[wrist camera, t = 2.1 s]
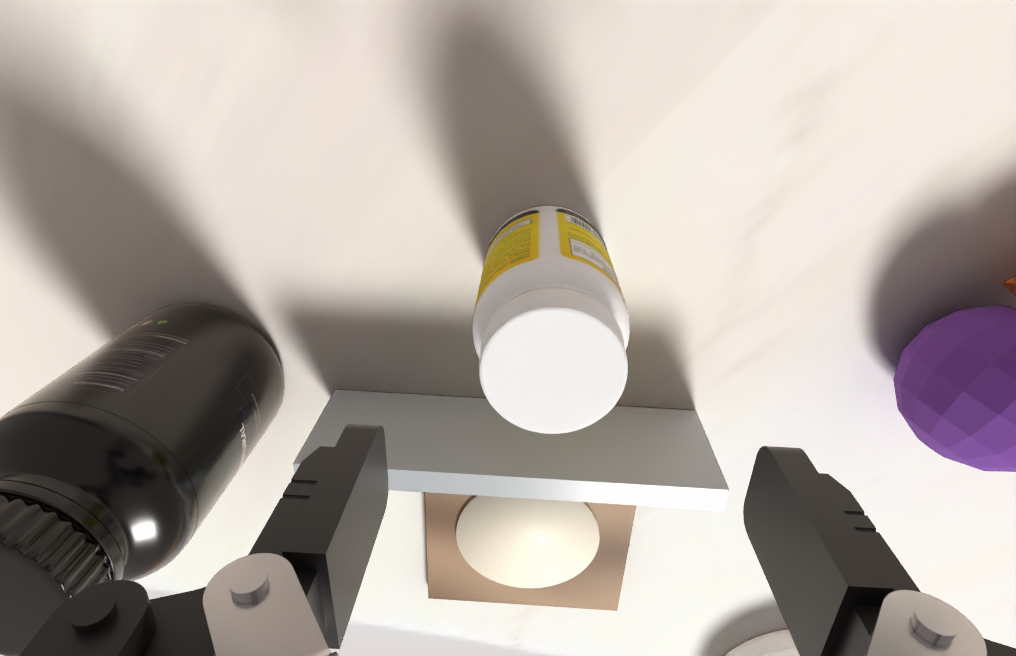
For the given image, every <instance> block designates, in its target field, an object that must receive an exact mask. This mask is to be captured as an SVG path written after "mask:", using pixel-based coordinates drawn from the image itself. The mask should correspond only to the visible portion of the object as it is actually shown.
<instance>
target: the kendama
mask: <svg viewBox="0 0 1016 656" xmlns="http://www.w3.org/2000/svg"><path fill="white" fill-rule="evenodd" d="M1003 285H1004V286H1006V287H1007V288H1008V289H1009V290H1010V291H1011V292H1012V293H1014V294H1015V295H1016V277H1013V278H1011V279H1009V280H1007V281H1004V284H1003ZM893 380H894V386H895V393H896V399H897V406H898V410H899V411H900V413H901V414H902V416H903V417H904V419H905V420H906V422H907V423H908V425H909V426H910V428H911V429H912V431H913V432H914V434H915V435H916V437H917V438H918V439H919V440H921V441H922V442H923V443H924V444H925V445H927V446H928V447H929V448H931V449H932V450H934V451H935V452H937V453H938V454H940V455H941V456H943V457H945V458H948V459H951V460H954V461H957V462H960V463H963V464H966V465H969V466H971V467H974V468H977V469H980V470H983V471H1010V472H1016V308H1014V307H1008V306H1003V305H995V306H987V307H978V308H970V309H961V310H958V311H956V312H954V313H952V314H950V315H947V316H945V317H943V318H941V319H939V320H937V321H935V322H933V323H930V324H928V325H926V326H925V327H924V328H923V329H922V330H921V331H920V332H919V333H918V334H917V336H916V337H915V338H914V339H913V340H912V341H911V342H910V343H909V344H908V345H907V346H906V347H905V348H904V349H903V351H902V354H901V357H900V360H899V363H898V366H897V369H896V372H895V375H894V378H893Z"/></svg>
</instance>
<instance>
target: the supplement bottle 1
mask: <svg viewBox="0 0 1016 656" xmlns="http://www.w3.org/2000/svg"><path fill="white" fill-rule="evenodd" d="M283 396H284V376H283V371H282V368H281V365H280V362H279V360H278V357H277V355H276V354H275V352H274V350H273V348H272V347H271V346H270V344H269V343H268V342H267V340H266V339H265V338H264V337H263V336H262V335H261V334H260V333H259V332H258V331H257V330H256V329H255V328H254V327H252V326H251V325H250V324H248V323H247V322H246V321H244V320H242V319H241V318H239V317H237V316H235V315H234V314H232V313H229V312H227V311H225V310H222V309H219V308H215V307H211V306H206V305H200V304H179V305H173V306H169V307H165V308H162V309H160V310H157V311H155V312H153V313H151V314H150V315H148V316H146V317H145V318H143V319H142V320H140V321H139V322H137V323H136V324H134V325H133V326H131V327H130V328H128V329H127V330H125V331H124V332H122V333H121V334H120V335H118V336H117V337H115V338H114V339H112V340H111V341H110V342H108V343H107V344H105V345H104V346H102V347H101V348H100V349H98V350H97V351H95V352H94V353H92V354H91V355H90V356H88V357H87V358H85V359H84V360H82V361H81V362H79V363H78V364H77V365H75V366H74V367H72V368H71V369H69V370H68V371H67V372H65V373H64V374H62V375H61V376H59V377H58V378H57V379H55V380H54V381H52V382H51V383H49V384H48V385H47V386H45V387H44V388H42V389H41V390H39V391H38V392H36V393H35V394H34V395H32V396H31V397H29V398H28V399H26V400H25V401H24V402H22V403H21V404H19V405H18V406H16V407H15V408H14V409H12V410H11V411H9V412H8V413H7V414H5V415H4V416H3V417H1V418H0V654H1V655H5V656H19V655H20V654H21V653H22V651H23V650H24V649H25V648H26V646H27V645H28V644H29V643H30V641H31V640H32V639H33V637H34V636H35V635H36V634H37V632H38V631H39V630H40V629H41V627H42V626H43V625H44V623H45V622H46V621H47V620H48V618H49V617H50V616H51V615H52V614H53V613H54V611H55V610H56V609H57V608H58V607H60V606H61V605H62V604H63V603H64V602H66V601H67V600H68V599H70V598H71V597H72V596H74V595H76V594H77V593H79V592H81V591H83V590H85V589H87V588H89V587H92V586H94V585H97V584H100V583H103V582H107V581H113V580H130V581H134V580H137V579H140V578H143V577H145V576H147V575H150V574H152V573H154V572H156V571H157V570H159V569H161V568H162V567H164V566H166V565H167V564H168V563H169V562H171V561H172V560H173V559H174V558H175V557H176V556H177V555H178V554H179V553H180V552H181V551H182V550H183V548H184V547H185V546H186V544H187V543H188V542H189V540H190V539H191V538H192V536H193V535H194V533H195V532H196V531H197V529H198V528H199V526H200V525H201V523H202V522H203V521H204V519H205V518H206V516H207V515H208V513H209V512H210V511H211V509H212V508H213V506H214V505H215V503H216V502H217V500H218V499H219V498H220V496H221V495H222V493H223V492H224V490H225V489H226V488H227V486H228V485H229V483H230V482H231V480H232V479H233V477H234V476H235V475H236V473H237V472H238V470H239V469H240V467H241V466H242V465H243V463H244V462H245V460H246V459H247V457H248V456H249V454H250V453H251V452H252V450H253V449H254V447H255V446H256V444H257V443H258V441H259V440H260V439H261V437H262V436H263V434H264V433H265V431H266V430H267V429H268V427H269V425H270V424H271V422H272V421H273V419H274V418H275V416H276V414H277V413H278V411H279V409H280V406H281V404H282V400H283Z"/></svg>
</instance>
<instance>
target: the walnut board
mask: <svg viewBox="0 0 1016 656" xmlns="http://www.w3.org/2000/svg"><path fill="white" fill-rule="evenodd" d="M425 508H426V538H427V567H428V597H429V598H433V599H448V600H463V601H478V602H494V603H509V604H524V605H539V606H554V607H569V608H584V609H600V610H615V611H617V608H618V602H619V597H620V591H621V586H622V580H623V575H624V569H625V564H626V559H627V553H628V548H629V542H630V537H631V531H632V526H633V520H634V515H635V510H636V505H624V504H608V503H592V502H576V501H560V500H544V499H527V498H511V497H495V496H479V495H463V494H447V493H430V492H425Z"/></svg>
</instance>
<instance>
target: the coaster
mask: <svg viewBox="0 0 1016 656" xmlns="http://www.w3.org/2000/svg"><path fill="white" fill-rule="evenodd" d="M725 656H800V655H799V653H798V651H797V648H796V646H795V644H794V641H793V639H792V637H791V634H790V632H789V630H788V629H787V630H780V631H776V632H771V633H767V634H764V635H761V636H758V637H755V638H753V639H750V640H748V641H746V642H744V643H742V644H740V645H739V646H737V647H735V648H734V649H733V650H731V651H730V652H728V653H727V654H726V655H725Z"/></svg>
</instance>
